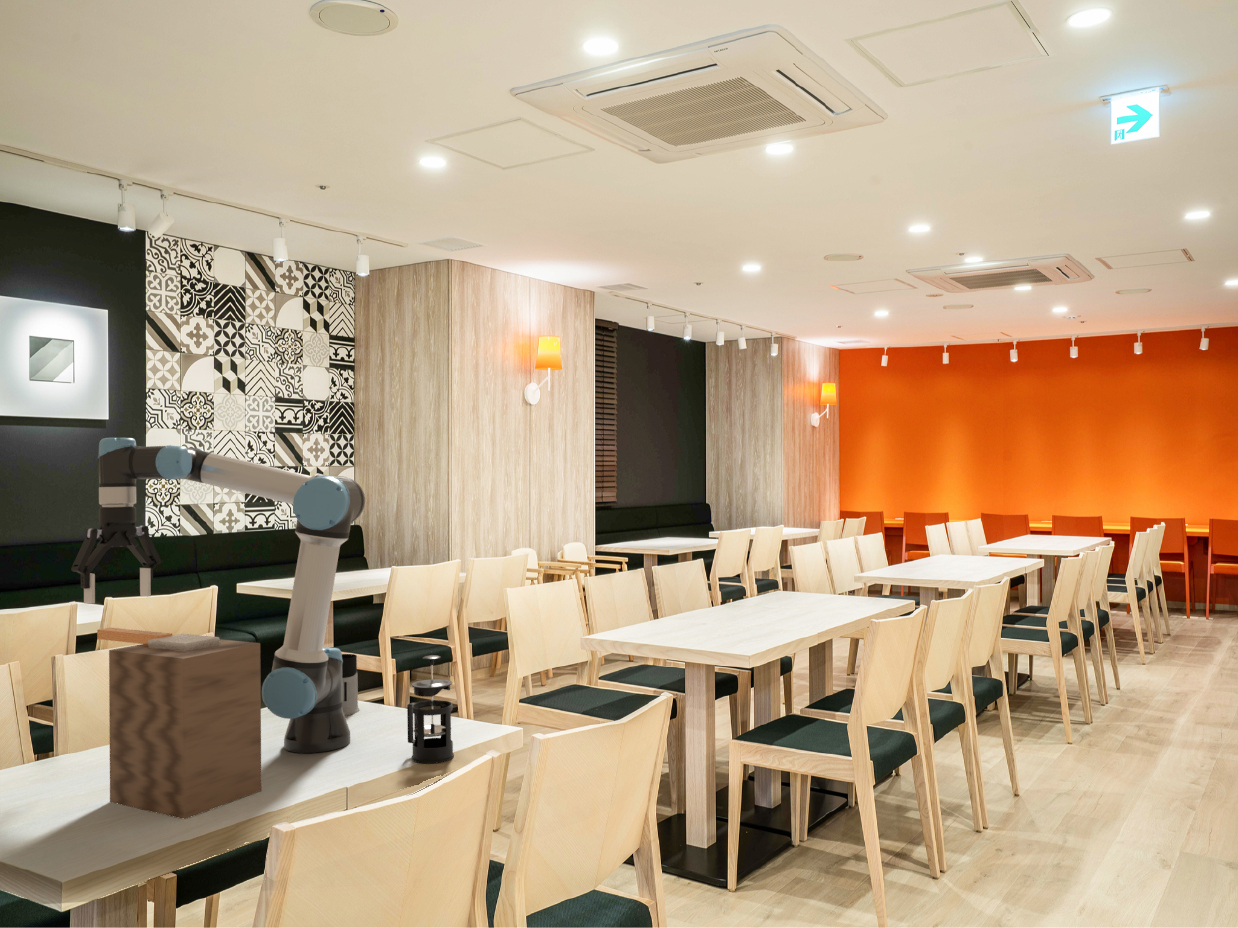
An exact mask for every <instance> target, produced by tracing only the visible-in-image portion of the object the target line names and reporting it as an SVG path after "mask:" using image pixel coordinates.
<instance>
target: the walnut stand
mask: <svg viewBox="0 0 1238 928" xmlns="http://www.w3.org/2000/svg"><path fill="white" fill-rule="evenodd" d="M108 664H109V666H108V672H109V673H108V676H109V677H108V679H109V681H108V685H109V692H108V693H109V696H108V697H109V700H108V701H109V702H108V703H109V704H108V705H109V706H108V707H109V708H108V709H109V711H108V713H109V715H108V716H109V719H108V720H109V802H110V803H112V802H113V804H116V803H118V804H117V805H121V804H122V805H121V806H125V805H126V807H129V806H130V807H131V808H133V809H134V808H135V809H139V810H144V811H147V812H151V811H152V813H156V812H157V813H156V814H160V813H161V815H164V814H166V815H165V816H169V815H170V817H173V816H174V818H177V817H179V818H178V819H182V818H184V819H183V820H186V818H187V819H189V818H192V817H195V816H197V815H200V814H202V812H203V813H205V812H208V811H210V809H211V810H213V808H214V809H216V808H218V806H219V807H221V805H222V806H224V805H227V804H229V802H230V803H232V802H235V801H237V799H238V800H240V799H243V798H245V796H246V797H247V796H248V797H249V796H251V795H253V794H256V793H259V792H262V704H261V703H262V702H261V701H262V685H261V679H262V678H261V675H262V674H261V643H260V642H253V641H252V642H251V641H250V642H249V641H242V640H240V641H239V640H233V639H232V640H231V639H221V638H219V645H218V646H212V647H207V648H202V649H197V650H192V651H187V652H183V651H174V650H164V649H155V648H148V644H136V645H135V644H134V645H129V646H125V647H119V648H118V647H117V648H114V649H113V648H112V649H108ZM242 797H243V798H242ZM234 800H235V801H234ZM226 803H227V804H226ZM194 815H195V816H194ZM191 816H192V817H191ZM188 817H189V818H188Z"/></svg>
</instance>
